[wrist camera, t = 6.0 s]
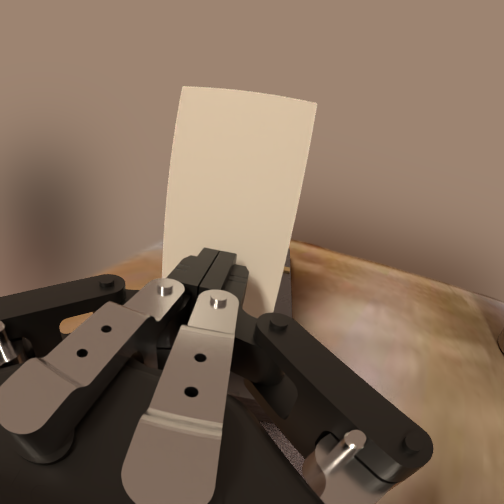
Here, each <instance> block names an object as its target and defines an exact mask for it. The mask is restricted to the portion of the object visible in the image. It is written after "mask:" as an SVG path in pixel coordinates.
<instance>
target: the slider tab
mask: <svg viewBox="0 0 504 504" xmlns="http://www.w3.org/2000/svg"><path fill="white" fill-rule="evenodd" d="M316 109H317V103H313V102H309V101H304V100H299V99H294V98H288V97H283V96H277V95H271V94H265V93H258V92H249V91H242V90H232V89H221V88H207V87H186V86H185V87H184V86H183V87H182V92H181V98H180V102H179V108H178V114H177V120H176V126H175V133H174V139H173V147H172V154H171V162H170V170H169V179H168V189H167V200H166V211H165V225H164V241H163V264H162V278H166V277H167V276H168V275H169V274H170V273H171V272H172V271H173V269H175V267H176V266H177V265H178V264H179V262H180V261H181V260H182V259H183V258H186V257H188V256H190V255H192V256H198V254H199V253H200V252H201V251H202V249H203V248H204V247H205V248H210V249H215V250H220V251H226V252H231V253H236V254H237V259H236V264H237V265H242V266H246V267H247V269H248V271H249V276H248V282H247V287H246V293H245V298H244V303H243V307H242V308H243V310H244V311H245V312H246V313H248V314H249V315H251V316H253V317H255V318H258V317H259V316H260V315H262V314H265V313H272V312H273V311H274V307H275V303H276V299H277V295H278V290H279V286H280V282H281V278H282V274H283V270H284V265H285V261H286V257H287V252H288V248H289V243H290V239H291V235H292V230H293V225H294V221H295V216H296V212H297V207H298V202H299V197H300V193H301V188H302V183H303V178H304V172H305V168H306V163H307V158H308V152H309V147H310V141H311V136H312V131H313V125H314V119H315V114H316Z"/></svg>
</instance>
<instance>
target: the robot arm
mask: <svg viewBox="0 0 504 504" xmlns="http://www.w3.org/2000/svg"><path fill="white" fill-rule="evenodd" d="M236 259H237V254H236V253H231V252H226V251H220V250H215V249H210V248H205V247H204V248H203V249H202V251H201V252H200V253H199V254H198V256H192V255H190V256H188V257H186V258H183V259H182V260H181V261H180V262H179V264H178V265H177V266H176V267H175V269H173V271H172V272H171V273H170V274H169V275H168V276H167V277H166V278H159V279H155V280H152V281H150V282H149V283H147V284H146V285H145V286H144V287H143V288H142V289H141V290H127V289H125V281H124V279H123V278H121V277H119V276H117V275H111V274H105V275H99V276H94V277H90V278H85V279H80V280H76V281H71V282H67V283H62V284H57V285H53V286H48V287H44V288H39V289H35V290H30V291H26V292H22V293H17V294H13V295H8V296H3V297H0V504H375V503H376V502H377V501H378V500H379V499H380V498H382V497H383V496H384V495H385V494H386V493H387V492H388V491H390V490H391V489H393V488H394V487H395V486H397V485H398V484H400V483H401V482H403V481H404V480H405V479H407V478H408V477H410V476H411V475H412V474H414V473H415V472H416V471H417V470H419V469H420V468H421V467H423V466H424V465H425V464H426V463H427V462H428V461H429V460H430V459H431V457H432V454H433V443H432V440H431V438H430V436H429V435H428V434H427V432H425V431H424V430H423V429H422V428H421V427H420V426H418V425H417V424H416V423H415V422H413V421H412V420H411V419H410V418H408V417H407V416H406V415H405V414H404V413H402V412H401V411H400V410H399V409H398V408H396V407H395V406H394V405H393V404H391V403H390V402H389V401H388V400H387V399H385V398H384V397H383V396H382V395H381V394H380V393H378V392H377V391H376V390H375V389H374V388H372V387H371V386H370V385H369V384H368V383H366V382H365V381H364V380H363V379H362V378H361V377H359V376H358V375H357V374H356V373H355V372H354V371H352V370H351V369H350V368H349V367H348V366H347V365H345V364H344V363H343V362H342V361H341V360H340V359H338V358H337V357H336V356H335V355H334V354H333V353H331V352H330V351H329V350H328V349H327V348H326V347H325V346H323V345H322V344H321V343H320V342H319V341H318V340H317V339H315V338H314V337H313V336H312V335H311V334H310V333H309V332H307V331H306V330H305V329H304V328H303V327H302V326H301V325H300V324H298V323H297V322H296V321H295V320H294V319H292V318H291V317H289V316H287V315H284V314H281V313H273V312H272V313H265V314H262V315H260V316H259V317H258V318H255V317H253V316H251V315H249V314H248V313H246V312H245V311H244V310H243V308H242V307H243V303H244V298H245V293H246V287H247V282H248V276H249V271H248V269H247V267H246V266H242V265H237V264H236ZM89 312H93V314H92V315H91V316H90V317H89V318H88V319H87V320H86V321H84V322H83V323H82V324H81V325H80V326H79V327H78V328H76V329H75V330H74V331H73V332H72V333H69V334H63V333H61V332H60V329H59V325H60V323H61V321H62V320H64V319H66V318H69V317H73V316H77V315H81V314H85V313H89ZM25 338H26V339H25ZM498 344H499V346H500V348H501V350H502V352H503V353H504V329H503V331H502V333H501V334H500V336H499V338H498ZM230 371H231V372H233V373H235V374H237V375H239V376H241V377H243V378H244V379H243V381H244V385H245V387H246V388H247V390H248V391H249V392H250V393H251V395H252V396H253V397H254V399H255V400H256V401H257V402H258V404H259V405H260V406H261V408H262V409H263V410H264V411H265V413H266V414H267V415H268V416H269V417H270V419H271V420H272V421H273V422H274V424H275V425H276V426H277V427H278V428H279V430H280V431H281V432H282V433H283V434H284V435H285V437H286V438H287V439H288V440H289V441H290V442H291V444H292V445H293V446H294V447H295V448H296V449H297V450H298V452H299V453H300V454H301V455H302V456H303V457H304V458H305V461H304V463H303V466H302V473H303V476H304V479H305V480H306V481H305V480H304V479H303V478H302V476H301V475H300V474H299V473H298V472H297V470H296V469H295V468H294V467H293V465H292V464H291V463H290V462H289V460H288V459H287V458H286V457H285V455H284V454H283V453H282V451H281V450H280V449H279V448H278V446H277V445H276V444H275V442H274V441H273V440H272V438H271V437H270V436H269V434H268V433H267V432H266V430H265V429H264V427H263V426H262V425H261V423H260V422H259V421H258V419H257V418H256V417H255V415H254V414H253V413H252V412H251V411H250V410H249V409H248V408H247V407H246V406H245V405H244V404H243V403H242V402H240V401H239V400H237V399H236V398H235V397H233V396H231V395H229V394H227V389H228V381H229V374H230ZM307 483H308V484H307Z"/></svg>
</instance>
